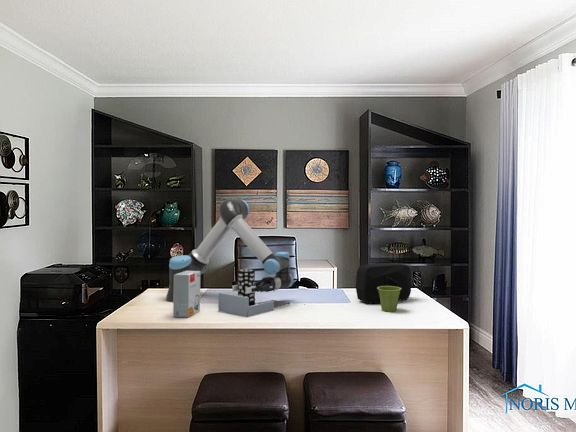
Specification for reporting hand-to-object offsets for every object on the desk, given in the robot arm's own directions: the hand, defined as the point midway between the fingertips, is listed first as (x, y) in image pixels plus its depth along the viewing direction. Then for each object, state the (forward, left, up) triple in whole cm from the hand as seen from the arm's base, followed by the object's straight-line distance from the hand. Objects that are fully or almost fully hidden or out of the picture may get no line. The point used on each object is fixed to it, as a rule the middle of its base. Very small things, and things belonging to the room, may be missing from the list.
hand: (239, 289), depth 247 cm
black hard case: (+41, +69, -11) cm, 81 cm away
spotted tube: (0, +5, -11) cm, 12 cm away
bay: (0, +5, -11) cm, 12 cm away
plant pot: (+53, +51, -11) cm, 75 cm away
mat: (0, +25, -11) cm, 27 cm away
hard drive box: (-17, -19, -11) cm, 27 cm away
